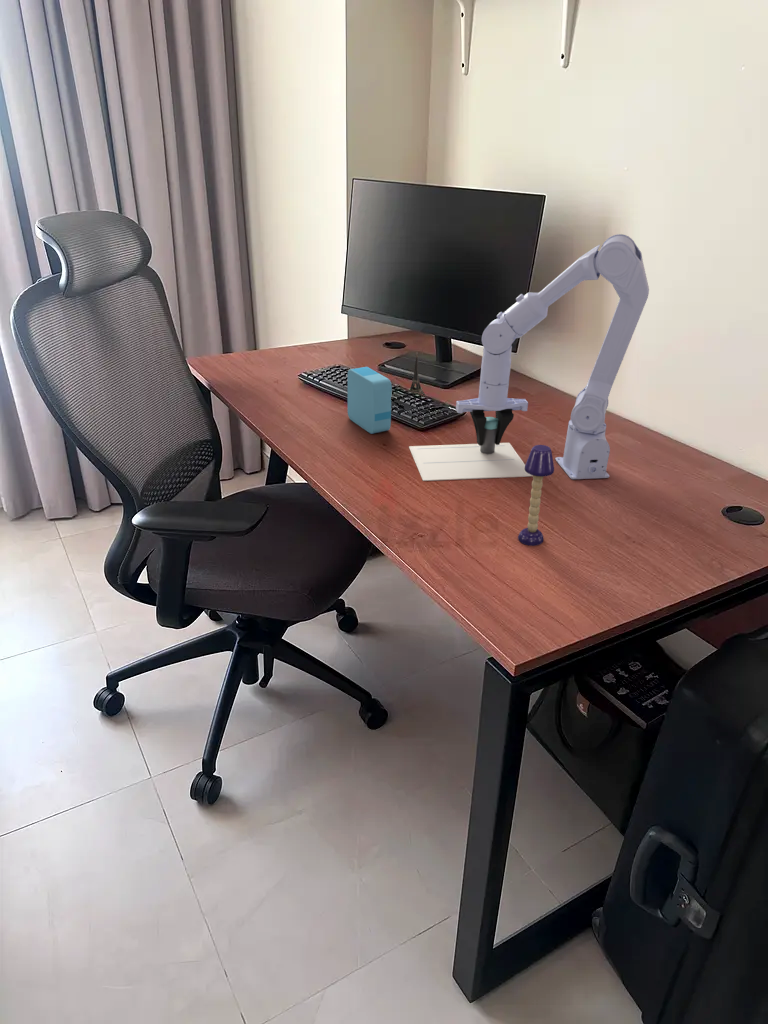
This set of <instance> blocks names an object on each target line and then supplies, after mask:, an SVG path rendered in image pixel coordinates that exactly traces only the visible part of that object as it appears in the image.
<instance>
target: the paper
mask: <svg viewBox="0 0 768 1024" xmlns="http://www.w3.org/2000/svg"><path fill="white" fill-rule="evenodd" d="M480 447H481V446H479V445H478V443H467V444H466V443H465V444H462V443H461V444H441V445H439V444H437V445H436V444H435V445H433V444H432V445H413V446H412V445H410V446H408V449H409V450H410V453H411V456H412V458H413V461H414V462H415V465H416V468H417V470H418V472H419V475H420V478H421V479H422V482H427V481H428V482H430V481H431V482H432V481H434V482H435V481H450V480H451V481H453V480H476V479H478V480H479V479H498V478H499V479H503V478H523V477H533V475H531V474H528V473H527V472H526V471H525V465H526V463H524V461H523V460H522V458H521V456H520V455H519V454H518V453H517V452H516V450H515V448H514V447H513V445H512V444H511V443H510V442H500V444H499V445H496V444H495V452H494V453H492V454H485V453H482V452H481V451H480Z"/></svg>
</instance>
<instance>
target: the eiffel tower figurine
mask: <svg viewBox="0 0 768 1024" xmlns="http://www.w3.org/2000/svg"><path fill="white" fill-rule="evenodd" d="M413 372H414V373H413V378H412V380H411V384H410V388H408V391H411V392H414V393H418V394H423V395H426V393H425V392H424V391H423V387H422V386H421V383H420V377H419V353H418V352H415V365H414V371H413ZM408 391H407V392H408Z"/></svg>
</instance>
